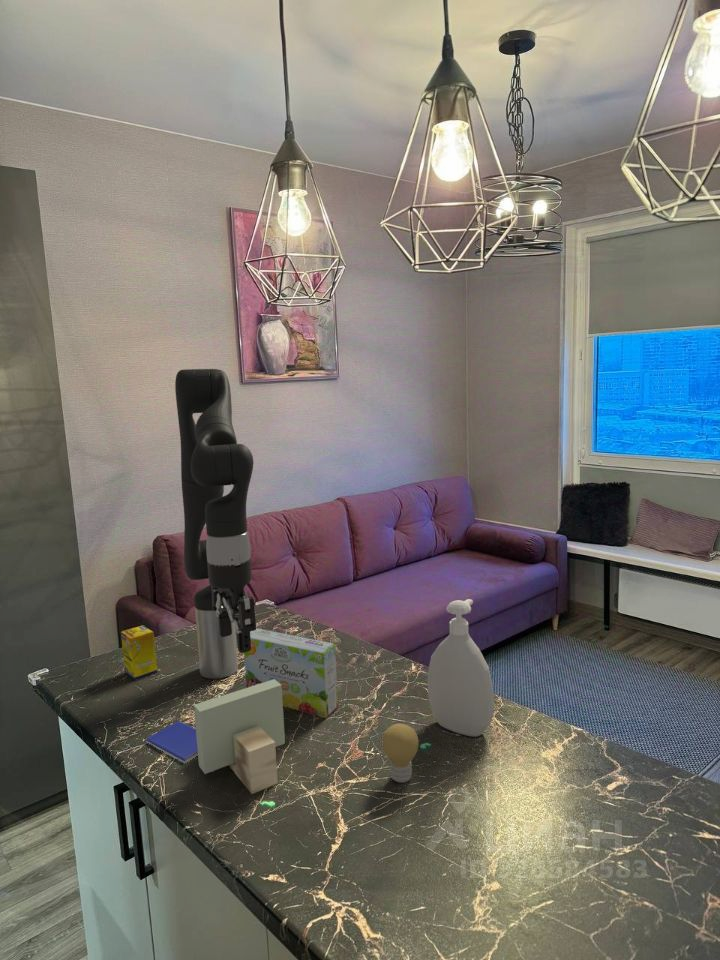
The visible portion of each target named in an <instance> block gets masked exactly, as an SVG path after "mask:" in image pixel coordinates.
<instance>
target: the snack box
mask: <svg viewBox="0 0 720 960" xmlns="http://www.w3.org/2000/svg"><path fill="white" fill-rule="evenodd" d="M250 639H251V650H250V651H248V652H244V653H243V657H244V669H245V681H246V688H248V687H251V686H254V685H258V684H261V683H264V682H267V681H270V680H273V679H275V680H276V681H277V682H279V683H280V684H281V685H282V701H283V708H287V707H288V709H292V710H295V709H296V711H298V710H299V711H300V712H302V711H303V713H306V714H311V715H313V714H314V716H317V715H318V716H317V717H322V718H328V717H329V716H330V715H331V714H332V713H333V712H334V711H335V710H336V709H337V708H338V707H339V703H338V702H339V701H338V698H339V697H338V682H337V680H338V679H337V665H336V664H337V662H336V660H337V659H336V644H335V643H333V642H328V641H323V640H317V639H312V638H306V637H303V636H297V635H291V634H288V633H286V634H285V633H282V632H278V631H273V630H266V629H262V628H257V627H256V630H254V631H250Z"/></svg>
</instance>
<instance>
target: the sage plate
mask: <svg viewBox="0 0 720 960" xmlns="http://www.w3.org/2000/svg"><path fill="white" fill-rule="evenodd" d="M193 711H194V723H195V729H196V737H197V748H198V757H197V758H198V760H197V761H198V767H199V768H200V769H201V770H202V772H203V773H204V775H207V774H208V773H212V772H214V771H217V770H219V769H222V768H225V767H227V766H229V765H230V764H232V763H235V749H234V736H233V735H234V734H237V733H240V732H243V731H246V730H248V729H251V728H254V727H257V726H260V727H261V729H262V730H263V731H264V732H265V733H266V734H267V735H268V736H269V737H270V738H271V739H272V740H273V741H274V742H275V748H276V747H279V746H282V745H284V744H285V743H286V737H285V721H284V717H285V716H284V706H283V701H282V685H281V684H280V683H279V682H277V681H276V680H275V679H273V680H270V681H267V682H264V683H261V684H258V685H254V686H251V687H248V688H247V687H245V688H241V689H240V690H236V691H232V692H229V693H227V694H223V695H220V696H217V697H214V698H211V699H208V700H204V701H201V702H198V703H196V704H193Z"/></svg>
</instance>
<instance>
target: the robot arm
mask: <svg viewBox="0 0 720 960" xmlns="http://www.w3.org/2000/svg"><path fill="white" fill-rule="evenodd" d="M174 387H175V388H174V389H175V390H174V392H175V400H176V402H175V403H176V410H177V418H178V429H179V437H180V471H181V472H180V473H181V474H180V475H181V476H180V477H181V478H180V479H181V480H180V481H181V492H182V493H181V494H182V502H183V503H182V505H183V516H184V519H183V520H184V531H183V532H184V534H183V535H184V536H183V537H184V539H183V540H184V543H183V562H184V569H185V574H186V576H187V577H188V578H189V580H192V581H200V580H207V579H208V584H209V585H207V586H206V587H204V588H202V589H200V590H198V591H197V592H196V593H195V594H194V597H193V605H194V616H195V627H196V637H197V638H196V639H197V640H196V641H197V653H198V663H199V664H198V665H199V673H200V676H202V677H203V678H205V679H213V680H216V679H223V678H226V677H229V676H232V675H233V674H235V673H236V672H238V669H239V665H238V664H239V663H238V652H239V653H240V654H244V652H248V651H250V650H251V639H250V632H251V631H254V630H256V628H257V622H256V613H255V612H256V611H255V603H254V602H255V601H254V598H253V596H247V595H246V592H245V587H246V586H247V585H248V584H249V583H251V582H252V580H253V576H252V560H251V545H250V539H249V534H248V523H247V499H248V493H249V487H250V483H251V481H252V480H251V478H252V475H253V470H254V457H253V456H254V455H253V454H252V451H251V450H250V449H249V448H248V446H247V445H245V444H241V443H238V441H237V436H236V433H235V429H234V427H233V426H234V425H233V421H232V420H233V419H232V417H233V416H232V415H233V414H232V413H233V412H232V410H233V409H232V393H231V386H230V380H229V377H228V375H227V373H226V372H225V371H224V370H222V369H218V368H187V369H186V368H185V369H180V370H178V372H177V373H176V375H175V383H174ZM194 414H200V416H199V417H198V419H197V421H196V422H195V419H194ZM231 485H232V489H231V490H230V491H229V493H228V494H226V495H224V491H225V490H224V489H225V486H231ZM204 527H206V539H202V540H201V536H202V534H203V533H202V532H203V530H204Z"/></svg>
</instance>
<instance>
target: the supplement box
mask: <svg viewBox="0 0 720 960" xmlns="http://www.w3.org/2000/svg"><path fill="white" fill-rule="evenodd" d="M120 635H121V644H122V645H121V646H122V654H123V665H124V673H125V674H127V675H128V676H129V677H131V679H133V680H134V681H138V680H141V679H143V678H146V677H149V676H152V675H155V674H156V673H158V666H157V665H158V664H157V655H156V645H155V635H154V631H152V630H151V629H149V628H148V627H146V626H145V625H143V624H142V625H140V626H137V627H132V628H129V629H126V630H122V631H121V632H120Z"/></svg>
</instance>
